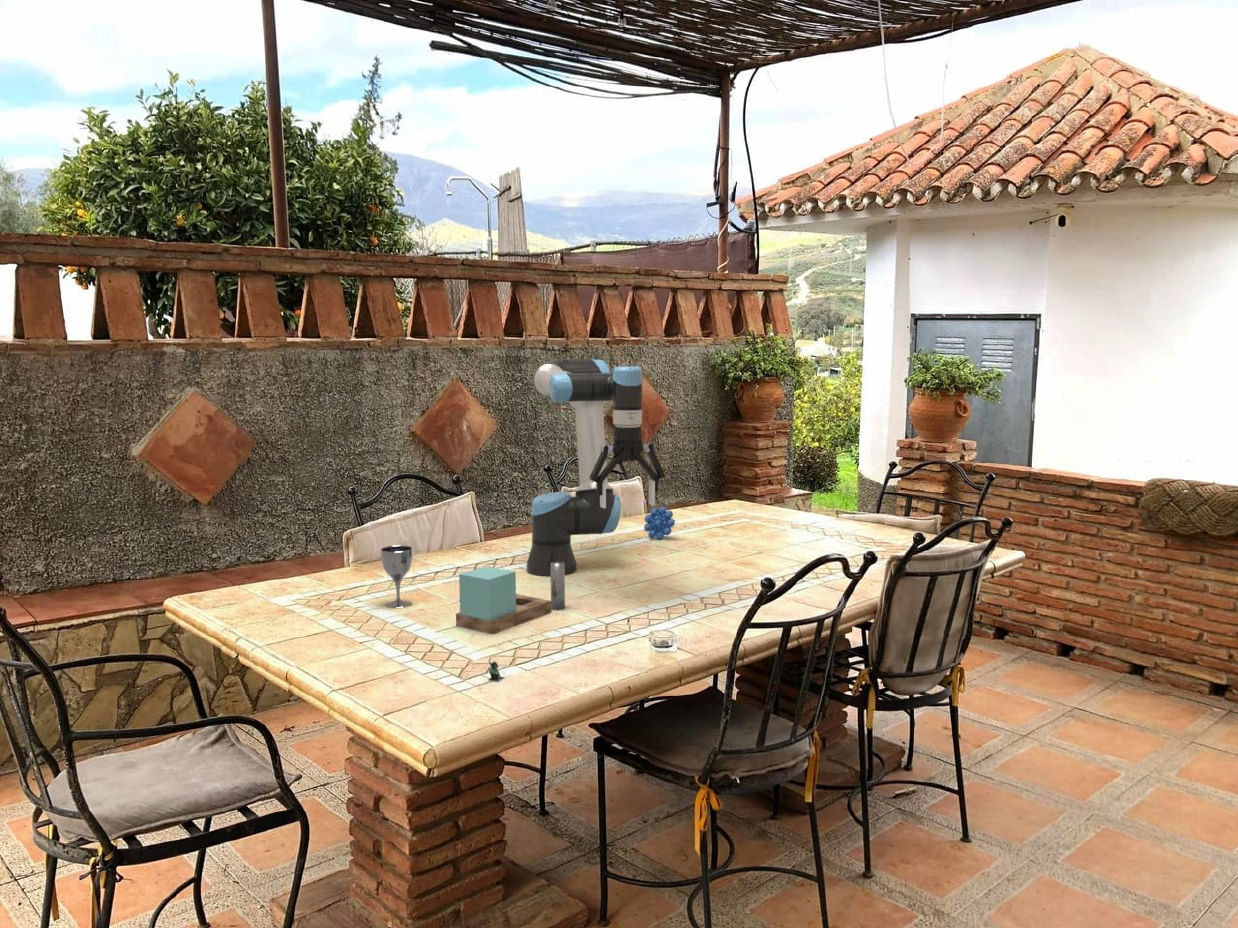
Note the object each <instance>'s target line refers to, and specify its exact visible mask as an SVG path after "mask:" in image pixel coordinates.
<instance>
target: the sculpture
mask: <svg viewBox="0 0 1238 928" xmlns="http://www.w3.org/2000/svg"><path fill="white" fill-rule="evenodd" d="M488 664H489V665H490V668H489V674H490V678H488V681H490V682H495V683H499V682H501V681H503V680H505V679H506V677H503V676H501V674H500V671H499V669H498V668H499V665H498V662H496V661H495V660H494V661H491V662H488Z"/></svg>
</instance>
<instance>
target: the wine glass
mask: <svg viewBox="0 0 1238 928" xmlns="http://www.w3.org/2000/svg"><path fill="white" fill-rule="evenodd" d="M380 555H381V556H380V557H381V563H382V567H383V570H384V571H385V573H386V574H387V575H388V576H389V577H390V578H391V579H392V581H393V583H394V585H395V592H396V599H395V600H392V601H387V602H386V603H384V607H386V608H390V609H391V608H392V609H400V608H407V607H409V606H412V605H413V602H412V601H411V600H404V599H403V600H402V599H401V597H400V596H401V595H400V591H401V583H402V580H403V579H404V577H405V576H406V575H407V574H408V573H409V571H410V569H411V567H412V562H413V547H412V546H410V545H401V544H400V545H399V544H397V545H395V544H394V545H388V546H384V547H381V550H380Z"/></svg>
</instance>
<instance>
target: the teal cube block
mask: <svg viewBox="0 0 1238 928" xmlns="http://www.w3.org/2000/svg"><path fill="white" fill-rule="evenodd" d="M516 577H517V574H516V571H513V570H508V569H503V568H497V567H491V566H487V565H485V566H484V567H480V568H476V569H473V570H469V571H466V572H462V573H459V575H458V578H459V581H458V582H459V583H458V584H459V612H460V614H461V615H466V616H470V617H474V618H479V619H483V620H488V621H491V620H493V619H496V618H499V617H502V616H505V615H507V614H510V613H513V612H516V594H517V582H516V581H517V580H516Z"/></svg>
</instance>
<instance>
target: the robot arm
mask: <svg viewBox="0 0 1238 928" xmlns="http://www.w3.org/2000/svg"><path fill="white" fill-rule="evenodd" d="M642 371H643V370H642V368H641V367H639V366H615V367H614V368H613V372H611V370H610V368H609V365H608V364H607V363H606V362H605V360H602V359H592V358H586V359H585V358H584V359H583V358H582V359H581V358H580V359H553V360H550V361H546V362H544V363H542V364H541V365H538V366H537V367H536V369H535V371H533V372H534V373H533V375H532V384H533V387H534V389H535V390H536V391H537V392H538V393H539V394H541V395H543V396H545V397H550V400H552V401H553V402H556V403H559V402H560V403H568V402H569V404H570V406H571V407H572V408H574V410H575V413H574V415H575V428H576V429H575V430H576V431H575V432H576V443H577V445H576V447H577V459H578V460H577V462H578V476H579V486H578V487H577V488H576V489H575V490H574V491H575V494H574V495H575V496H572V495H571V493H570V492H568V491H555V492H548V493H544V494H540V495H538V496H536V497H534V498H533V500H532V502H531V513H530V515H531V548H530V552H529V555H528V559H527V562H526V572H527V573H529V574H531V575H538V576H542V577H543V576H545V577H546V576H548V577H549V576H550V577H551V562H556V561H560V562H564V563H565V575H569V574H573V573H575V572H576V571H577V570H578V569H577V567H578V566H577V560H576V559H575V555H574V552H573V551H574V550H573V548H572V542H571V541H572V539H571V537H572V536H580V535H581V536H582V535H584V536H585V535H602V534H610V533H613V532H615V530H616V529H617V527H618V525H619V521H620V516H621V501H620V496H619V495H618V494H616V493H614V488H613V487H612V486H611V485H610V484H609V483H608V477H609V475H610V474H611V472H612V471H613V470H614V468H615V467H617V465H618V464H619V463H620V462H624V463H626V462H635V461H636V462H637V463H638V464H639V465H640V466H641V467H642V468H643V470H644V471H645V472H646V474H648V476H649V477H650V479H648V505H651V506H656V493H658V491H659V481H660V480H661V479H663V478H665V476H666V474H665V471H664V470H663V467H662V465H661V464H660V461H659V459H658V456H656V455H657V454H656V452H655V449H654V447H655V445H654V444H653V443H650V442H647V443H646V444H644V443H643V437H642V436H643V428H642V426H641V425H642V424H643V414H642V413H643V382H644V379H643V372H642ZM607 402H612V403H613V404H612V405H613V409H612V410H613V414H612V415H613V417H612V419H613V420H612V424H613V425H614V426H613V429H612V430H613V431H612V432H613V433H612V434H613V441H612V442H613V443H612V445H607V444H606V437H605V421H604V406H605V405H606V404H607ZM643 450H644V452H646V453H647V456H648V457H649V460H650V462H651V464H652V466H653V468H654V470H655V471H654V470H653V468H651V466H650V465H649V463H648V462H647V461H646V460H645V458H644V457H643V456H642V454H641V453H642V452H643ZM611 451H612V452H613V454H614V455H613V456H612V457H611V458H610V461H609V462H608V463H607V458H608V455H610V454H611Z"/></svg>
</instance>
